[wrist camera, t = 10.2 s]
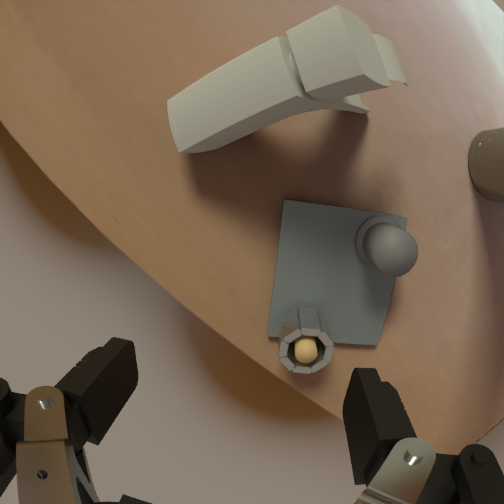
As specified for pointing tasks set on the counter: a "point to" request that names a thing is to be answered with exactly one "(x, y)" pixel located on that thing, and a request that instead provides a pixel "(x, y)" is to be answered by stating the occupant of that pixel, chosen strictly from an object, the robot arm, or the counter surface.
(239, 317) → the counter surface
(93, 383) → the robot arm
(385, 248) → the board
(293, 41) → the faucet
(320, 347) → the tube
